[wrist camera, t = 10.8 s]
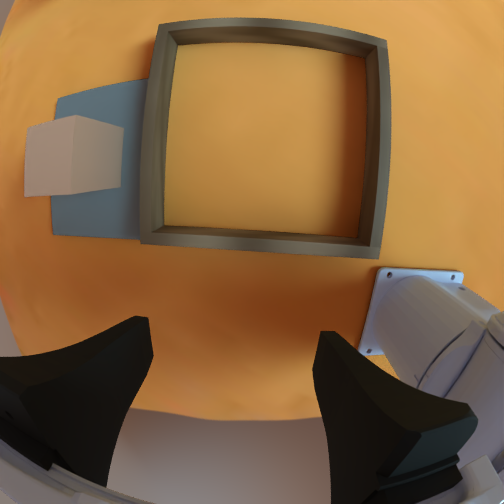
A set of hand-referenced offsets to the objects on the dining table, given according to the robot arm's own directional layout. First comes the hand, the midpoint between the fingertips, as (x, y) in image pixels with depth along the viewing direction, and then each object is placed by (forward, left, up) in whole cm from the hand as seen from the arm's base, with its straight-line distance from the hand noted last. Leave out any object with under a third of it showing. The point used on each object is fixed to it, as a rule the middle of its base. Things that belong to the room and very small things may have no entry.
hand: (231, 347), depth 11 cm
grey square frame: (-1, -10, -9) cm, 14 cm away
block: (+12, -8, -9) cm, 17 cm away
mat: (+12, -8, -9) cm, 17 cm away
